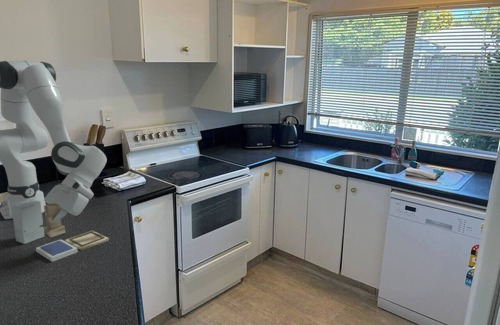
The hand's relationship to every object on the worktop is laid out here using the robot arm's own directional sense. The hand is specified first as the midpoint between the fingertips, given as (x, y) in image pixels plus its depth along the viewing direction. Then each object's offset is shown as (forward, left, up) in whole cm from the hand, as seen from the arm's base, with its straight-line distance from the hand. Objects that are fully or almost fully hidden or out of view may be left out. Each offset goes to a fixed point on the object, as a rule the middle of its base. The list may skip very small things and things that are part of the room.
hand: (51, 219), depth 130 cm
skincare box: (-19, 0, -13) cm, 23 cm away
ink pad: (0, +1, -13) cm, 13 cm away
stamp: (0, +1, -6) cm, 6 cm away
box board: (0, +12, -13) cm, 18 cm away
